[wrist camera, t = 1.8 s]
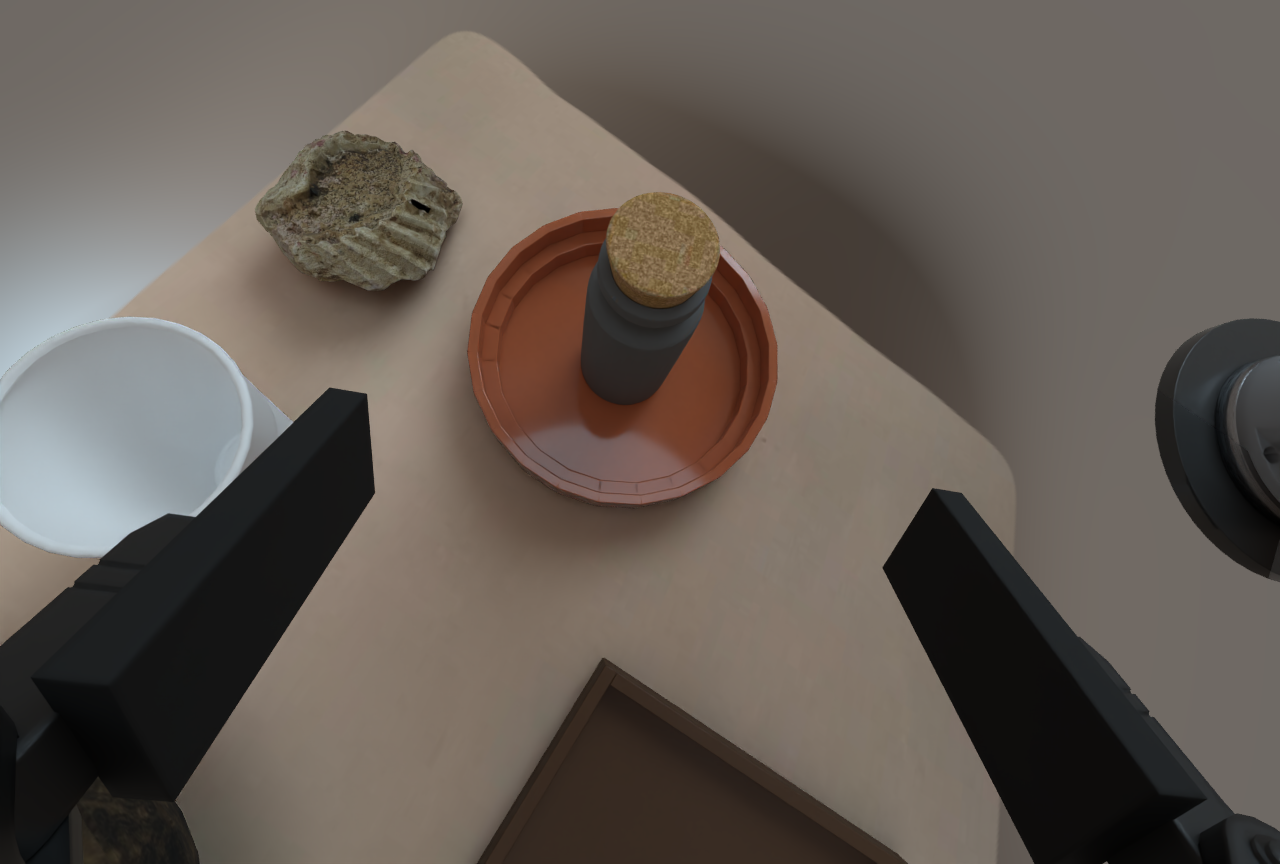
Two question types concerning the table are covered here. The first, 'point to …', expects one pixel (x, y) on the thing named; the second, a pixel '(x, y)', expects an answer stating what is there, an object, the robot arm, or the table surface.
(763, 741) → the table surface
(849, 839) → the tray
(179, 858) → the bowl
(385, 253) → the seashell
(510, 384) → the terracotta bowl
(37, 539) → the cup
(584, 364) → the bottle
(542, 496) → the table surface
